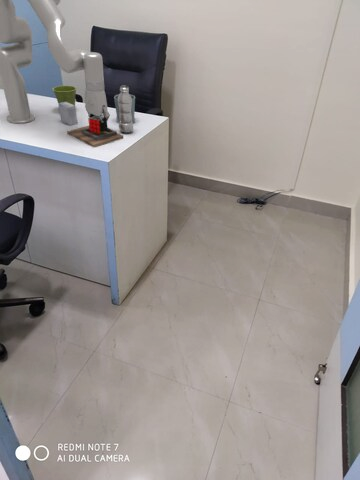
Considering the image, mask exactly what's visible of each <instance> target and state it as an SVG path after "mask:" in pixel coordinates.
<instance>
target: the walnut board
mask: <svg viewBox="0 0 360 480" xmlns="http://www.w3.org/2000/svg"><path fill="white" fill-rule="evenodd" d="M107 128H108V130H106V131H104V132H103V133H101V134H100V133H95V132H91V131H90V129H89V125H85V126H82V127H77V128H75V129H71V130H68V131H66V133H67V134H66V135H69V136H70V137H72V138H75V139H76V140H78V141H81V142H83V143H85V144H86V145H88V146H91V147H92V148H98V147H100V146H102V145H106V144H109V143H112V142H115V141H119V140H121V139H124V135H123V134H120V133H119V132H118V131H117V130H114V129H112V128H110V127H109V126H107Z"/></svg>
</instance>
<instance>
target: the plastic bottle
mask: <svg viewBox="0 0 360 480" xmlns="http://www.w3.org/2000/svg"><path fill="white" fill-rule="evenodd" d="M129 89H130V88H129V85H121V86H119V94H118V95H119V96H118V99H117V100H118V106H119V113H120V120H119V123H118V128H119V131H120V132H121V133H125V134H127V133H128V134H129V133H131V132H132V131H134V123H132V116H131V107H132V98H131V96H130V95H131V94H130V93H129V92H130V90H129Z"/></svg>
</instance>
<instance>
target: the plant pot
mask: <svg viewBox="0 0 360 480" xmlns="http://www.w3.org/2000/svg"><path fill="white" fill-rule="evenodd" d="M51 90H52V91H53V93H54V95H55V98H56V100H57V104H59V103H62V102H68V103H70V104H72V105H75V106H76V94H77V93H76V92H77V87H76V86H73V85H59V86H55V87H53V88H52V89H51Z"/></svg>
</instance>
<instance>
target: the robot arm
mask: <svg viewBox="0 0 360 480" xmlns="http://www.w3.org/2000/svg"><path fill="white" fill-rule="evenodd" d="M27 1H28V4H29V5H30V6H31V8H32V10H33V12H34V13H35V14H36V16H37V18H38V19H39V21H40V22H41V24H42V25H43V27H44V30H45V31H46V40H47V41H46V42H47V45H48V50H49V53H50V54H51V56H52V58H53V60H54V61H55V63H56V64H57V65H58V67H59V68H60V70H62V71H63V72H64V73H66V74H71V73H75V72H79V71H84V73H83V74H84V79H85V80H84V81H85V89H84V103H85V104H84V105H85V106H84V107H85V111H86V112H87V114H88V115H87V116H88V118H90V117H92V116H98V117H99V118H100V120H101V122H100V128H101V131H106V130H107V127H108V120H109V118H110V116H111V115H110V112H109V111H108V102H107V96H106V91H105V80H104V79H105V78H104V64H103V63H104V62H103V56H102V54H100V53H99V52H94V51H89V50H86V49H83V48H77V49H72V50H69V51H68V50H67V48H66V47H65V45H64V43H63V41H62V37H61V36H62V35H61V30H62V28H64V26H65V24H66V20H65V17H64V15H63V14H62V12H61V11H60V9H59V7H58V6H59V4H60V3H61V0H27ZM0 43H1V44H4V45H3V46H0V80H1V84H2V88H3V92H4V97H5V100H6V105H7V111H8V113H9V115H8V116H7V117H6V119H7V121H8V122H9V123H12V124H25V123H26V124H27V123H31V122H33V121H34V120H35V119H36V117H35V116H36V115H34V114H33V113H31V108H30V103H29V98H28V92H27V88H26V83H25V79H24V77H23V75H22V73H20V71H19V69H22V68H26V67H28V66H30V65H32V62H33V59H34V57H33V34H32V28H31V26H30V24H29V22H28V21H27V20H26V19H25V18H24V17H22V16H17V15H16V7H15V4H14V2H13V0H0ZM102 116H104V118H102Z"/></svg>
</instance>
